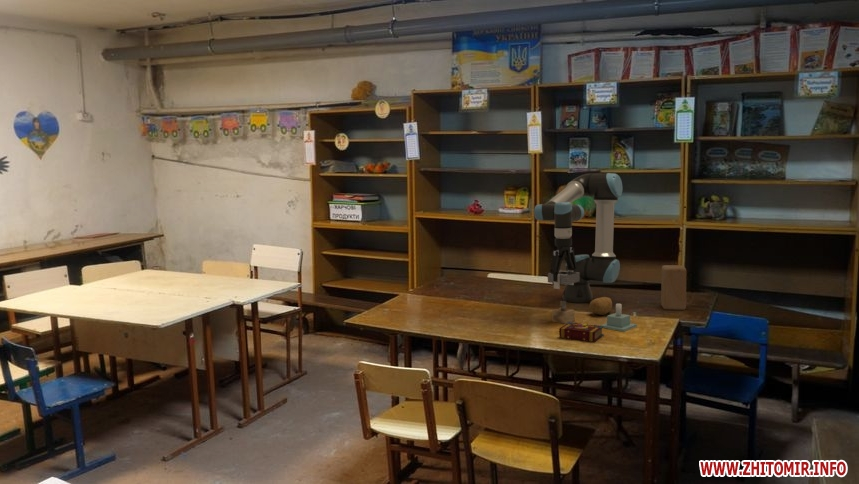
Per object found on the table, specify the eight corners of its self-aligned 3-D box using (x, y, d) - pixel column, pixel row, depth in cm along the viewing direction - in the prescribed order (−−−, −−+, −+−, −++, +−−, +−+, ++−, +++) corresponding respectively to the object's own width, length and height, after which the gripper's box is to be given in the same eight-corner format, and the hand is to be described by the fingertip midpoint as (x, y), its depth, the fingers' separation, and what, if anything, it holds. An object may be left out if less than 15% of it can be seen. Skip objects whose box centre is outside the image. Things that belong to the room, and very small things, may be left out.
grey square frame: (547, 282, 294) (547, 273, 293) (560, 278, 301) (560, 270, 300) (566, 284, 287) (566, 275, 286) (579, 281, 294) (579, 272, 293)
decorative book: (594, 343, 260) (594, 331, 260) (556, 338, 269) (556, 326, 268) (603, 336, 270) (603, 324, 269) (566, 331, 278) (566, 320, 278)
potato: (617, 312, 309) (617, 296, 308) (604, 318, 298) (604, 301, 297) (598, 310, 315) (598, 293, 314) (584, 315, 305) (584, 298, 304)
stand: (552, 321, 296) (552, 301, 295) (561, 318, 301) (561, 299, 300) (565, 323, 291) (565, 303, 290) (574, 320, 296) (574, 301, 295)
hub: (600, 327, 283) (600, 304, 282) (613, 322, 291) (613, 300, 289) (623, 331, 275) (623, 308, 274) (636, 326, 283) (637, 303, 282)
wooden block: (686, 310, 310) (686, 268, 308) (663, 309, 312) (664, 268, 310) (682, 305, 320) (683, 265, 317) (660, 305, 322) (661, 264, 319)
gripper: (555, 240, 281) (555, 292, 284) (584, 234, 296) (584, 283, 299) (541, 239, 286) (541, 289, 289) (570, 233, 302) (570, 281, 305)
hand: (563, 286), depth 294 cm, fingers closed on grey square frame, 10 cm apart
